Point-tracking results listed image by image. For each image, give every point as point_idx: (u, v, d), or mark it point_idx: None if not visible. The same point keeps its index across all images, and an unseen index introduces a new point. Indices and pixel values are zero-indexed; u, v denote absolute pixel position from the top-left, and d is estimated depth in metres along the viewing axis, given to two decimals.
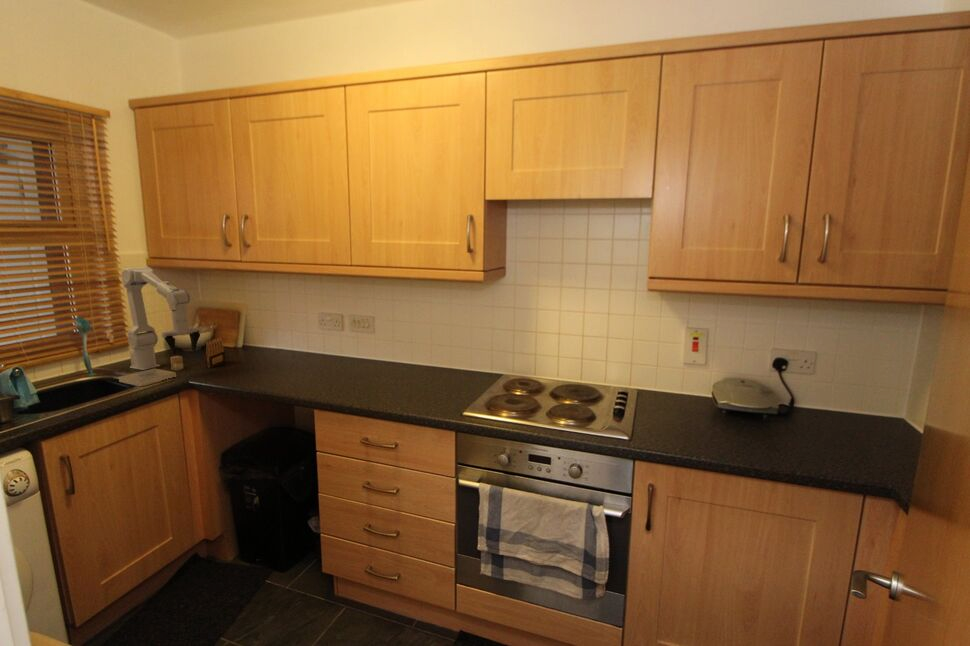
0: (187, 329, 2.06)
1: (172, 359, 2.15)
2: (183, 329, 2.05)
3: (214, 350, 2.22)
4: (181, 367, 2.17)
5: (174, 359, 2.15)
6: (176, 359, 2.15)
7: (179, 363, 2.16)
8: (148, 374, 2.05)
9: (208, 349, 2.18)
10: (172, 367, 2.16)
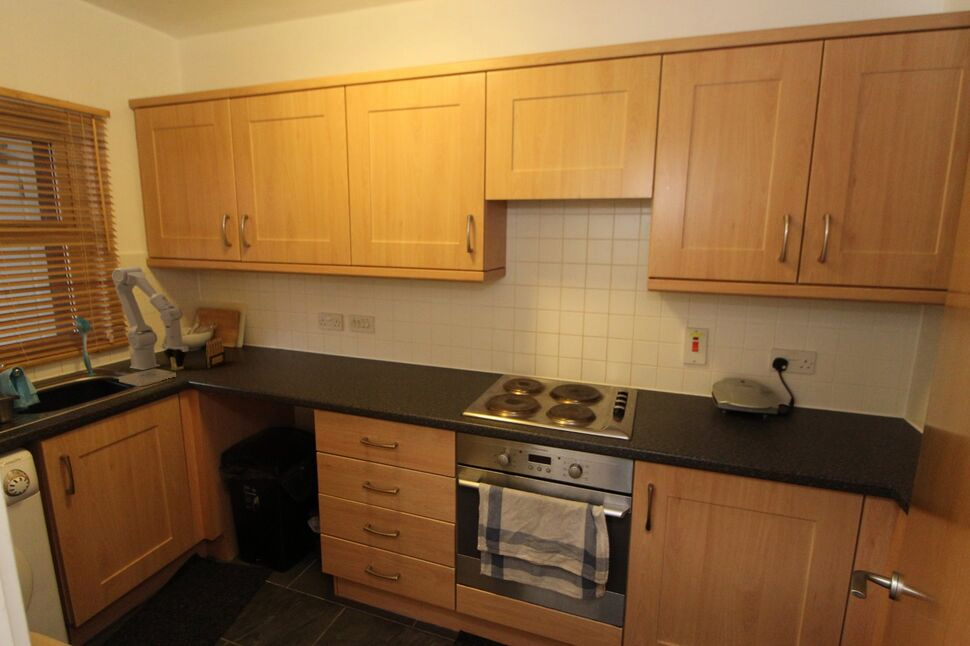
0: (170, 345, 2.13)
1: (172, 359, 2.15)
2: (167, 344, 2.13)
3: (214, 350, 2.22)
4: (181, 367, 2.17)
5: (174, 359, 2.15)
6: None
7: None
8: (148, 374, 2.05)
9: (208, 349, 2.18)
10: (172, 367, 2.16)
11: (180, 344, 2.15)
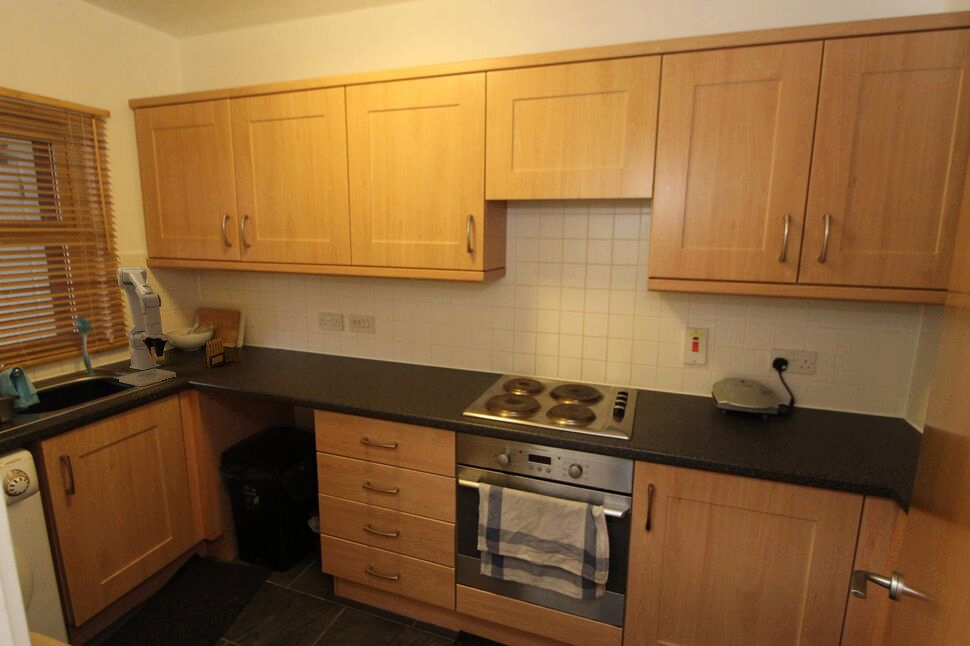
0: (150, 334, 2.02)
1: (152, 349, 2.05)
2: (146, 333, 2.02)
3: (214, 350, 2.22)
4: (162, 357, 2.07)
5: None
6: None
7: None
8: (148, 374, 2.05)
9: (208, 349, 2.18)
10: (153, 357, 2.06)
11: (160, 333, 2.04)
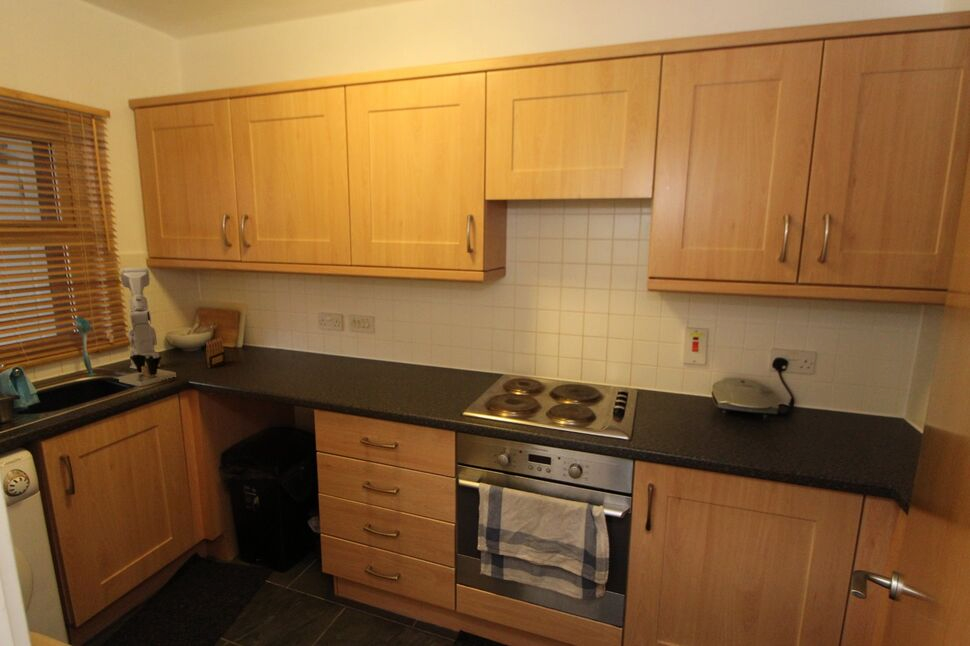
0: (140, 351, 1.97)
1: (143, 368, 2.01)
2: (136, 350, 1.98)
3: (214, 350, 2.22)
4: None
5: (145, 368, 2.00)
6: (147, 368, 2.00)
7: None
8: None
9: (208, 349, 2.18)
10: None
11: (150, 350, 2.00)
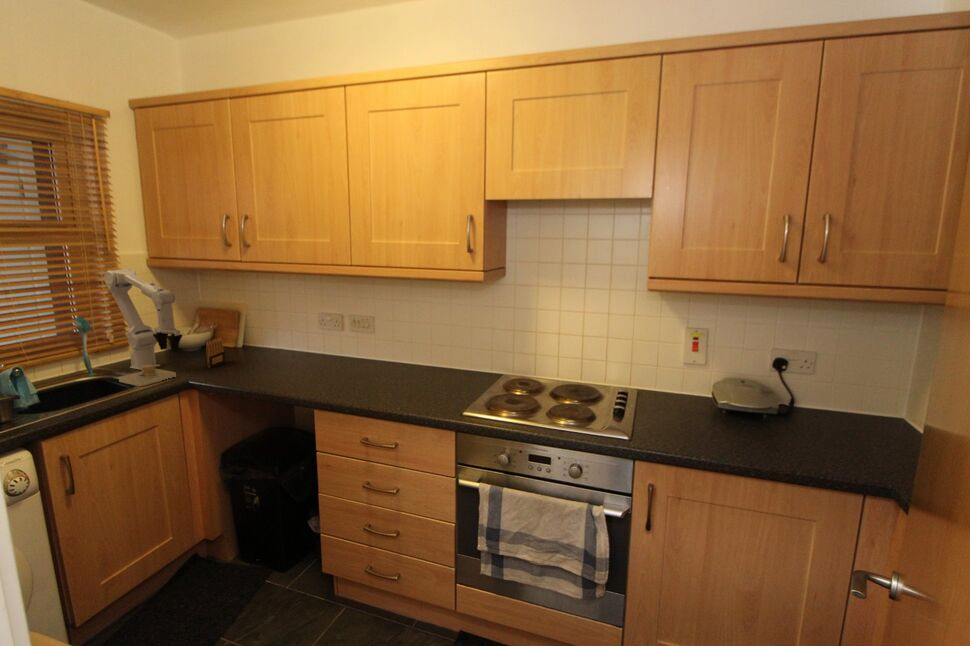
0: (162, 329, 2.09)
1: (143, 368, 2.01)
2: (159, 328, 2.09)
3: (214, 350, 2.22)
4: None
5: (145, 368, 2.00)
6: (147, 368, 2.00)
7: (150, 373, 2.02)
8: None
9: (208, 349, 2.18)
10: None
11: (172, 328, 2.11)
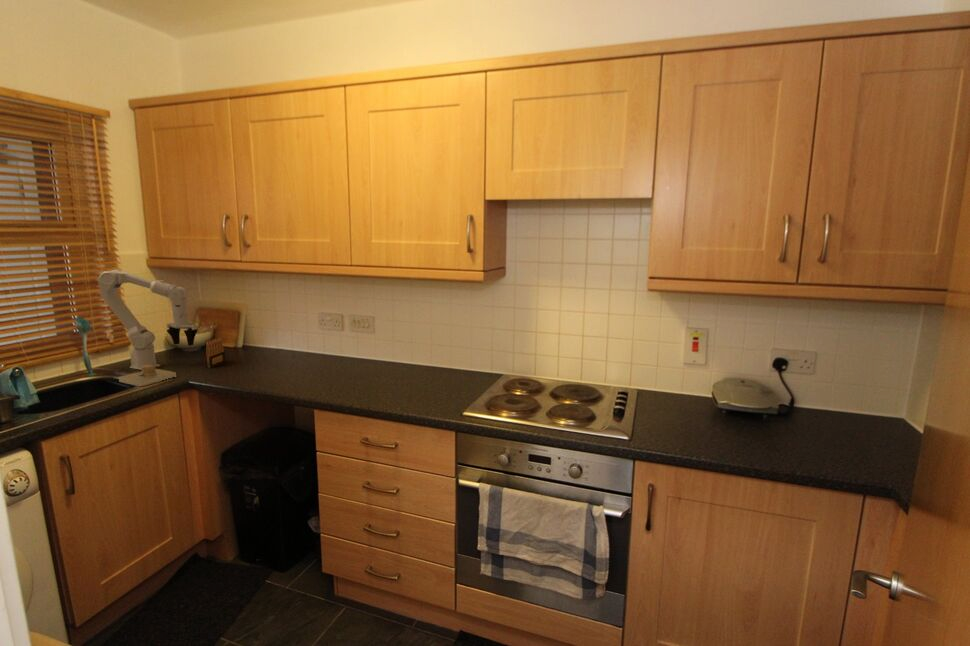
0: (179, 324, 2.18)
1: (143, 368, 2.01)
2: (175, 323, 2.18)
3: (214, 350, 2.22)
4: None
5: (145, 368, 2.00)
6: (147, 368, 2.00)
7: (150, 373, 2.02)
8: None
9: (208, 349, 2.18)
10: None
11: (187, 323, 2.21)
